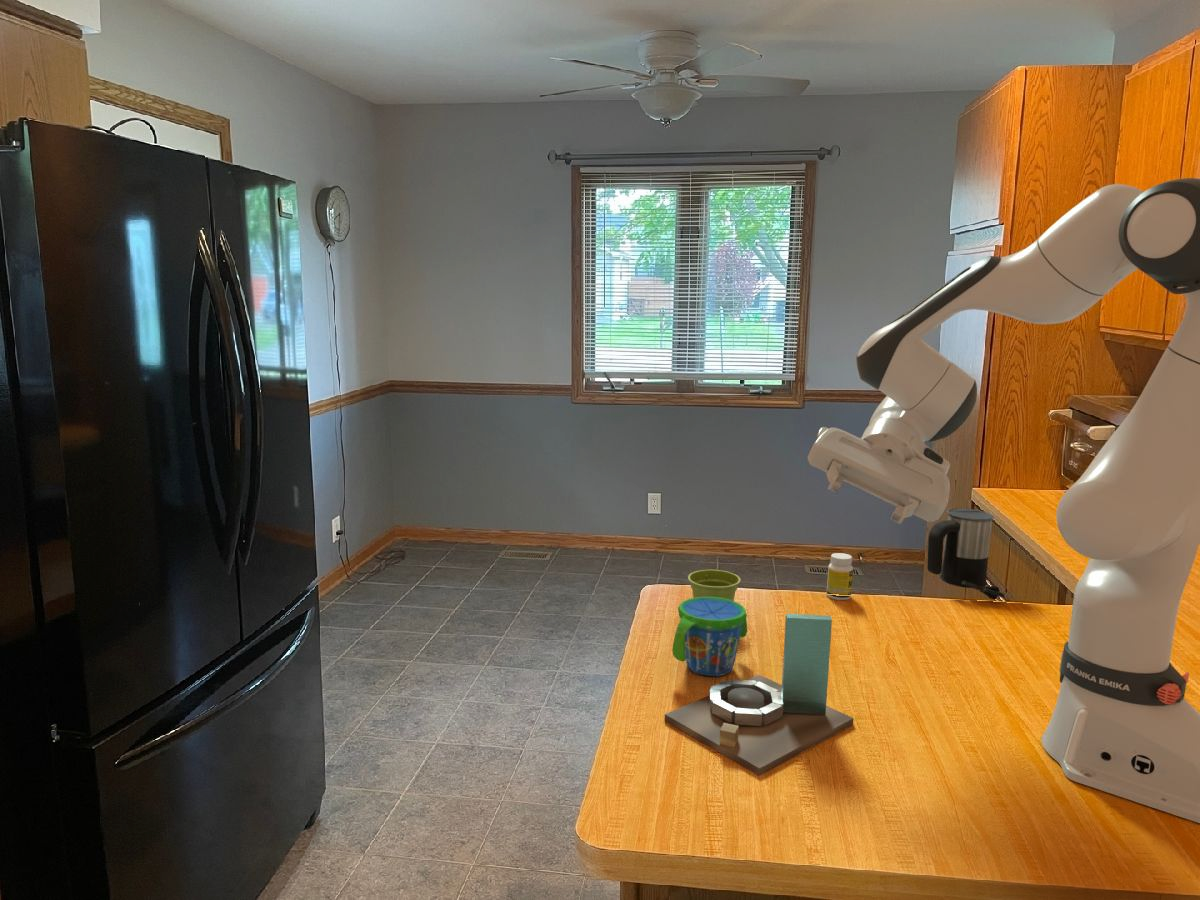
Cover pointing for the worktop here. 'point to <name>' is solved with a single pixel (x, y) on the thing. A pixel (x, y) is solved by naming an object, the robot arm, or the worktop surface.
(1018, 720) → the worktop surface
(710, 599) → the snack cup
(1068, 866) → the worktop surface
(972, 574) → the milk frother
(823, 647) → the ring with upright panel
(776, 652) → the worktop surface
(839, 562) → the supplement bottle
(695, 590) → the plant pot
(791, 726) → the base
